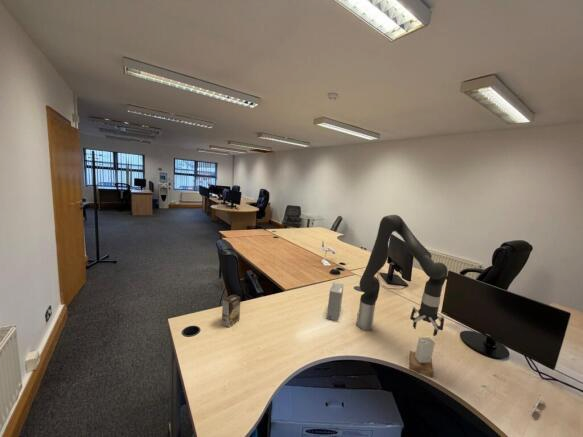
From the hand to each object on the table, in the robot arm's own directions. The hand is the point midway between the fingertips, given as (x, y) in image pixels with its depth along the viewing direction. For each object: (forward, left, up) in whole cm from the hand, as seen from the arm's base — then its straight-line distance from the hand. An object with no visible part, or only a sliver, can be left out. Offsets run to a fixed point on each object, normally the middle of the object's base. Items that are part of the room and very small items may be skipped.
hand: (424, 331), depth 119 cm
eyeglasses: (+37, +7, -20) cm, 42 cm away
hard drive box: (-53, +15, -19) cm, 58 cm away
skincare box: (+1, 0, -16) cm, 16 cm away
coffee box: (-100, -35, -19) cm, 108 cm away
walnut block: (+1, -1, -20) cm, 20 cm away
